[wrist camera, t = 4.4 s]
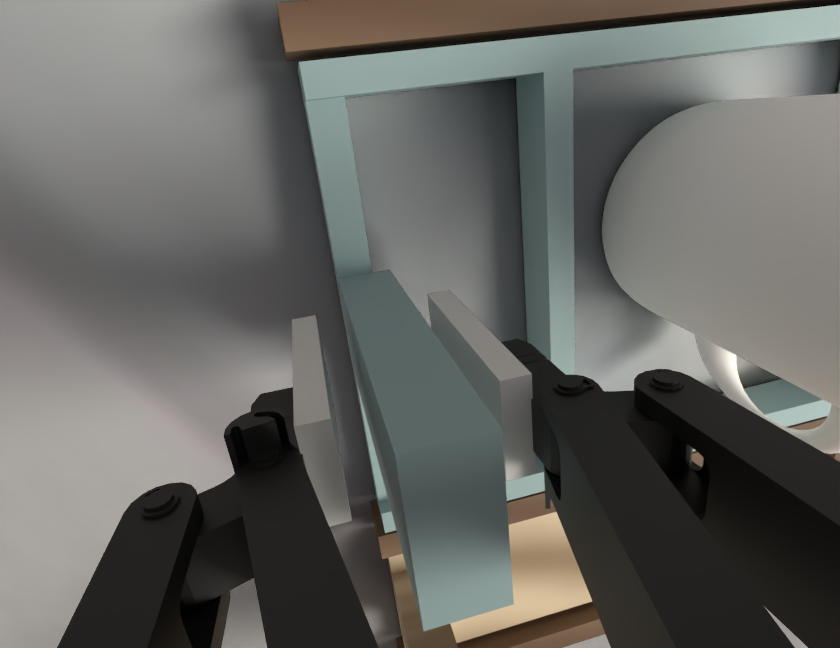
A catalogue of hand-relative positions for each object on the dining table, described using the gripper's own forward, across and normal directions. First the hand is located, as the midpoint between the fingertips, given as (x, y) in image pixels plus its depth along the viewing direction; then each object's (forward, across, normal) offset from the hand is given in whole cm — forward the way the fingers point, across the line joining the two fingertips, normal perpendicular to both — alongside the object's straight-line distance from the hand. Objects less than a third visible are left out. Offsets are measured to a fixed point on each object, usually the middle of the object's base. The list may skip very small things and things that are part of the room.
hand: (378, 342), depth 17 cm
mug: (+3, +14, 0) cm, 14 cm away
